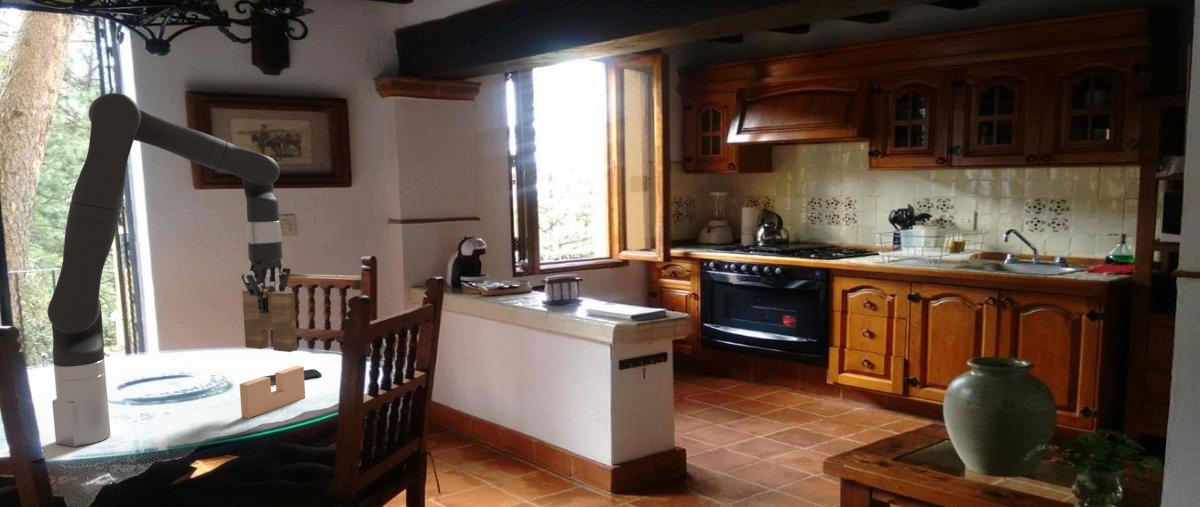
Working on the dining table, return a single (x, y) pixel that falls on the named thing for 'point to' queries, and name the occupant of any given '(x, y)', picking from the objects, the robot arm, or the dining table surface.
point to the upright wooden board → (270, 321)
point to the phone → (307, 375)
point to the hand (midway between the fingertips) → (268, 311)
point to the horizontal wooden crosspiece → (263, 400)
